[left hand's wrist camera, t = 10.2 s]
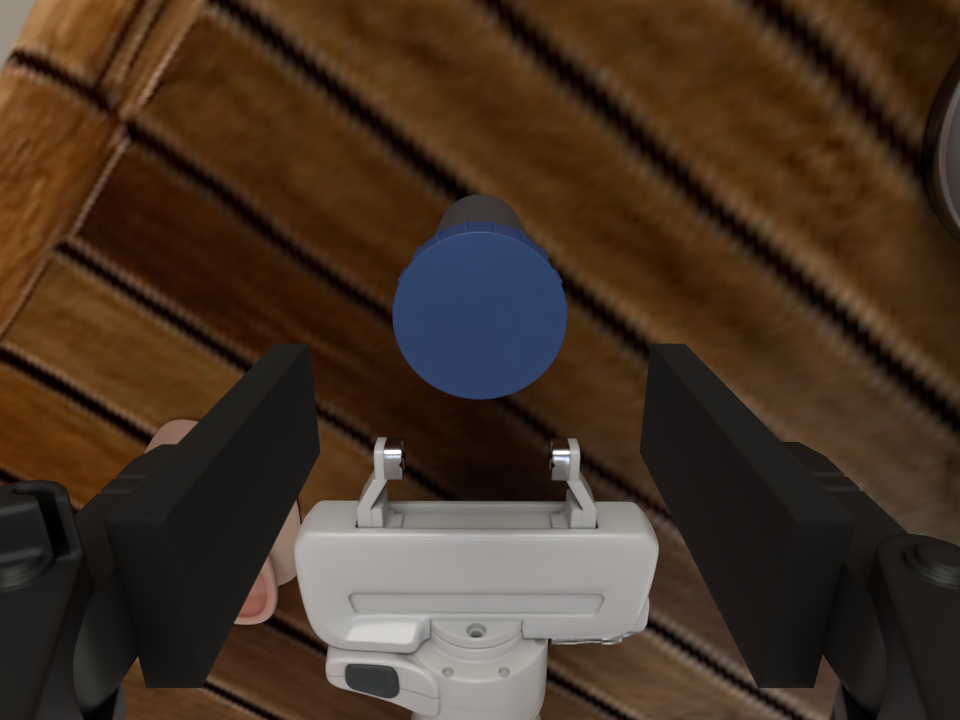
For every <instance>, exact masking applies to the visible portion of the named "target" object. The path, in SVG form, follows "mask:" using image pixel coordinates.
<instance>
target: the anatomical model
mask: <svg viewBox="0 0 960 720" xmlns="http://www.w3.org/2000/svg"><path fill="white" fill-rule="evenodd" d="M197 423H198V422H197V421H193V420H184V419H179V420H173V421H170V422H168V423H166V424H165V425H164V426H163V427H161V428H160V430H159V431H158V432H157V433H156V435H155V436H154V437H153V439H152V441H151V442H150V444H149V446H148V447H147V449H146V451H145V453H146V452H148V451H150V450H152V449H154V448H156V447H158V446H159V445H161V444H177V443H178V442H179V441H180V440H181V439H182V438H183V437H184V436H185V435H186V434H187V433H188V432H189V431H190V430H191V429H192V428H193V427H194V426H195V425H196V424H197ZM145 453H144V454H145ZM300 526H301V523H300V516H299V510H298V505H297V500H296V501H295V503H294V505H293V507H292V509H291V511H290V513H289V515H288V517H287V519H286V521H285V523H284V525H283V527H282V529H281V531H280V533H279V535H278V537H277V539H276V541H275V543H274V545H273V547H272V549H271V551H270V553H269V555H268V557H267V559H266V561H265V563H264V565H263V567H262V569H261V571H260V573H259V575H258V577H257V579H256V581H255V583H254V585H253V587H252V589H251V591H250V593H249V595H248V597H247V599H246V601H245V603H244V605H243V607H242V609H241V611H240V613H239V615H238V617H237V619H236V621H235V623H234V624H245V625H247V624H257V623H261V622H264V621H265V620H267V619H268V618H270V617H271V615H272V614H273V612H274V611H275V608H276V605H277V600H278V586H279V585H282V584H285V583H287V582H289V581H290V580H292V579H293V578H294V577H295V576H296V575H297V572H296V566H295V558H294V545H295V540H296V537H297V534H298V531H299V529H300Z"/></svg>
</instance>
